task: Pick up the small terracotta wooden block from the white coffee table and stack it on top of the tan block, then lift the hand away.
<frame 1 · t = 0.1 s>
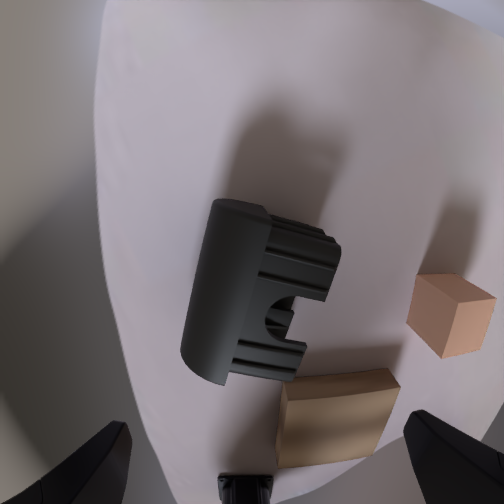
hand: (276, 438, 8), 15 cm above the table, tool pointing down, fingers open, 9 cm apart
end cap: (249, 273, 22), on the table
terracotta block: (431, 298, 23), on the table
tan block: (329, 412, 26), on the table
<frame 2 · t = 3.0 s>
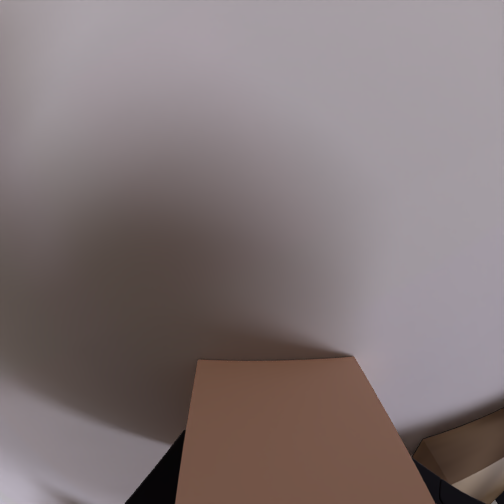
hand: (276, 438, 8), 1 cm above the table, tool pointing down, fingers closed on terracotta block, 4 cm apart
terracotta block: (273, 415, 9), on the table, touching gripper
tan block: (455, 469, 11), on the table
when the fingers open (5 cm above the table, at t = 7.3 s): terracotta block drops 1 cm, resting on tan block.
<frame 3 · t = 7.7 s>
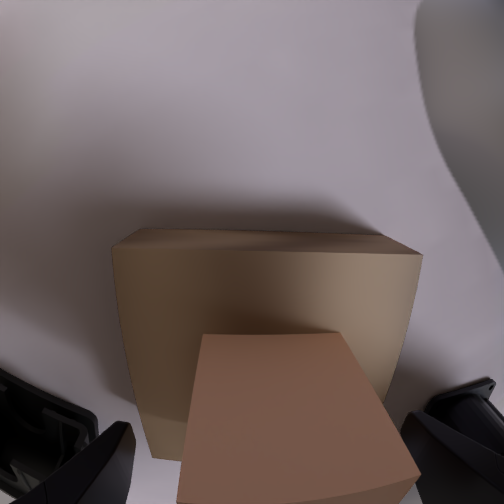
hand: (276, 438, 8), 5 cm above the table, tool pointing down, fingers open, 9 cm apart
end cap: (43, 418, 15), on the table
terracotta block: (269, 387, 10), point 3 cm above the table, touching tan block
tan block: (261, 344, 13), on the table
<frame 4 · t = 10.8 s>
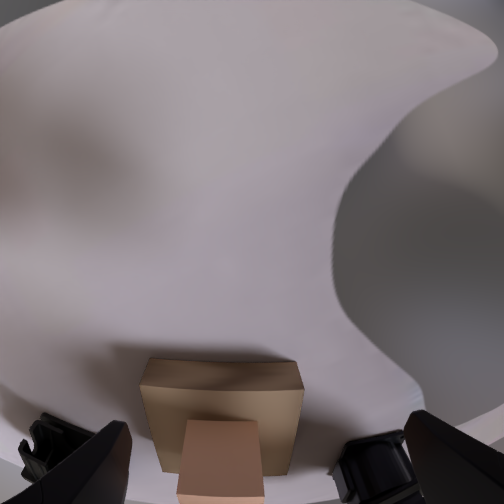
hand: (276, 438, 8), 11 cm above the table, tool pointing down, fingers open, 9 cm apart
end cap: (85, 446, 22), on the table
terracotta block: (223, 441, 18), point 3 cm above the table, touching tan block
tan block: (223, 413, 21), on the table
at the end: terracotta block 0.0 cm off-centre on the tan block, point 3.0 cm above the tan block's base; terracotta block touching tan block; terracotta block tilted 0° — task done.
